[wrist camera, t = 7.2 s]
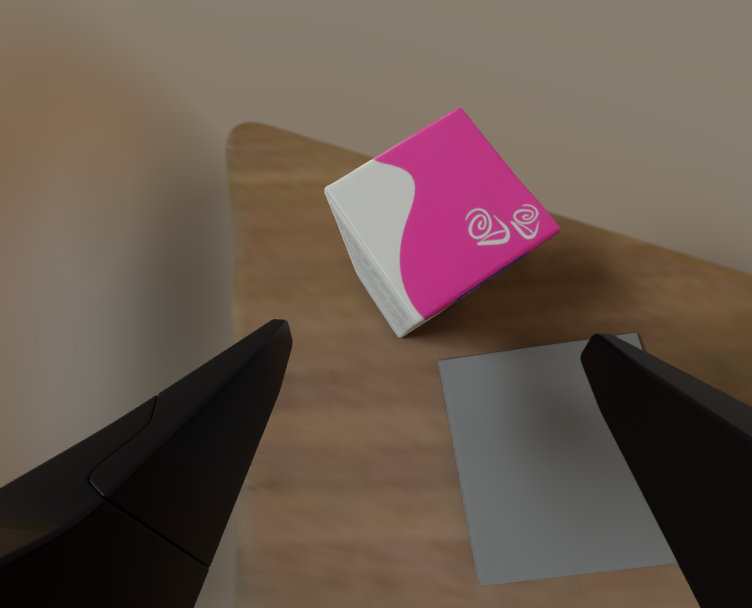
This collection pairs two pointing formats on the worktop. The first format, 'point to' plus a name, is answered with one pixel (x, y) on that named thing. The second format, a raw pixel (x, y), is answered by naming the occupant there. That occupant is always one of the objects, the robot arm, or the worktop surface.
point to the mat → (543, 468)
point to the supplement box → (435, 220)
